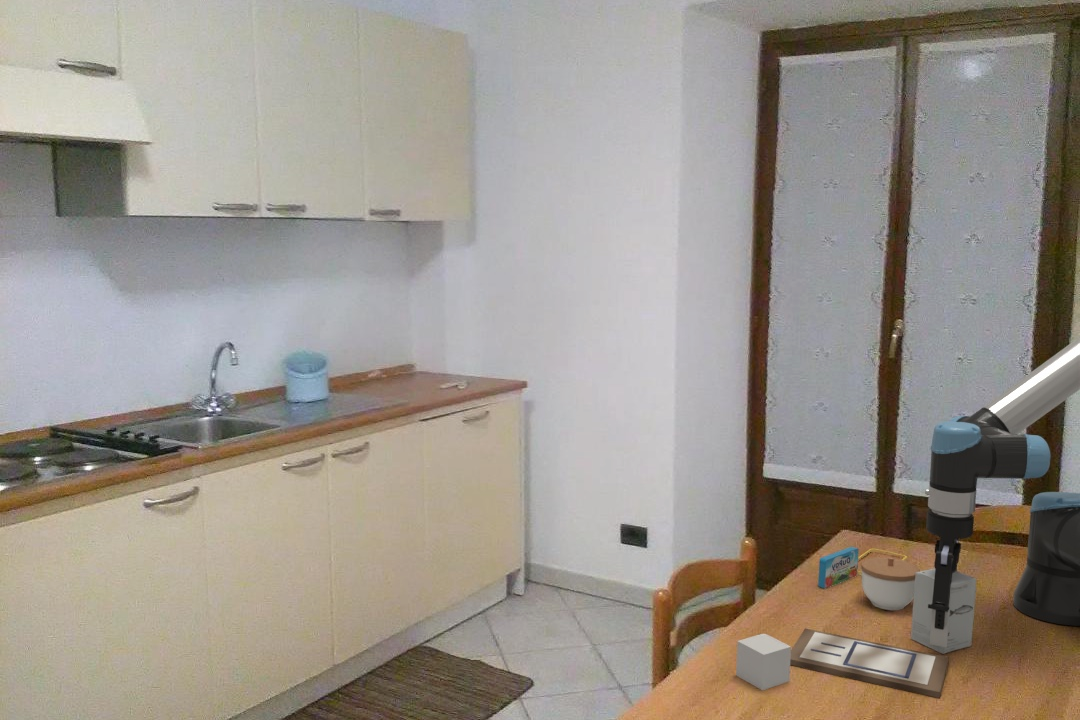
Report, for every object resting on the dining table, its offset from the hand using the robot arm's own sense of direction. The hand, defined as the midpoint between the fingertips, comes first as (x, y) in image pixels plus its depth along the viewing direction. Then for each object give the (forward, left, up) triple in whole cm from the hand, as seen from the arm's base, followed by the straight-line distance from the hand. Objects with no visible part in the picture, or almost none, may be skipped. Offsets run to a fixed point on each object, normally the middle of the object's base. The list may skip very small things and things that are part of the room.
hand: (941, 633), depth 171 cm
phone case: (+17, -36, -2) cm, 40 cm away
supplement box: (0, 0, -2) cm, 2 cm away
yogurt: (+22, -22, -2) cm, 31 cm away
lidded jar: (+11, -14, -2) cm, 18 cm away
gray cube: (+24, +29, -2) cm, 38 cm away
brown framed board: (+10, +15, -2) cm, 18 cm away
